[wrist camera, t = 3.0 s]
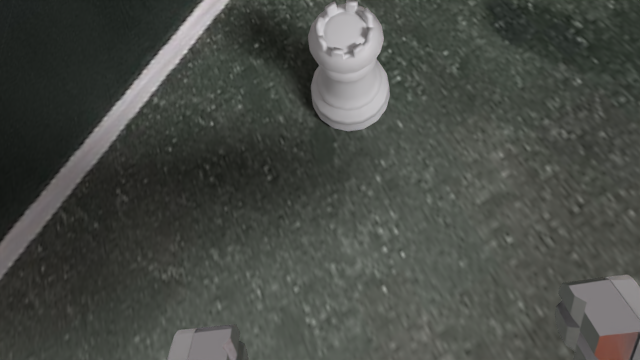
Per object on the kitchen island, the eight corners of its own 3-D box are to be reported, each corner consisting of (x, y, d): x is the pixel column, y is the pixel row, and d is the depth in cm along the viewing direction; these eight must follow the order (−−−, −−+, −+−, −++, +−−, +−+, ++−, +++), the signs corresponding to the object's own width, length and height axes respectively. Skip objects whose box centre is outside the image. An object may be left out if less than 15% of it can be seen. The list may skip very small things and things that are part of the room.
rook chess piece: (301, 75, 28) (277, -1, 20) (373, 49, 28) (377, -37, 20) (326, 144, 27) (310, 93, 19) (400, 118, 27) (415, 55, 19)
